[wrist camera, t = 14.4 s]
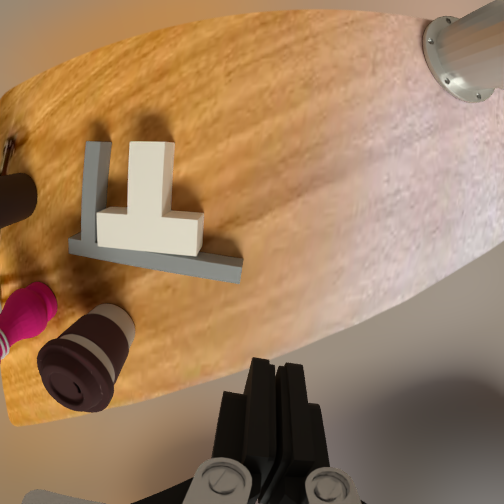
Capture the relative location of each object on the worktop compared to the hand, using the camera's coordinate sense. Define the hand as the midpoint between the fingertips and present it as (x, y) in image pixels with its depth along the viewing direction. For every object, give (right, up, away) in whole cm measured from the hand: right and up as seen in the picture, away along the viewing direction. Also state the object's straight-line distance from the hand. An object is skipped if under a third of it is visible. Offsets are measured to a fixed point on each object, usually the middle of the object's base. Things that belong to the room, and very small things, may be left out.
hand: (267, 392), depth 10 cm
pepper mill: (-33, -3, +31) cm, 46 cm away
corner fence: (-12, +10, +26) cm, 31 cm away
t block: (-12, +12, +26) cm, 31 cm away
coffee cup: (-20, -6, +32) cm, 38 cm away
